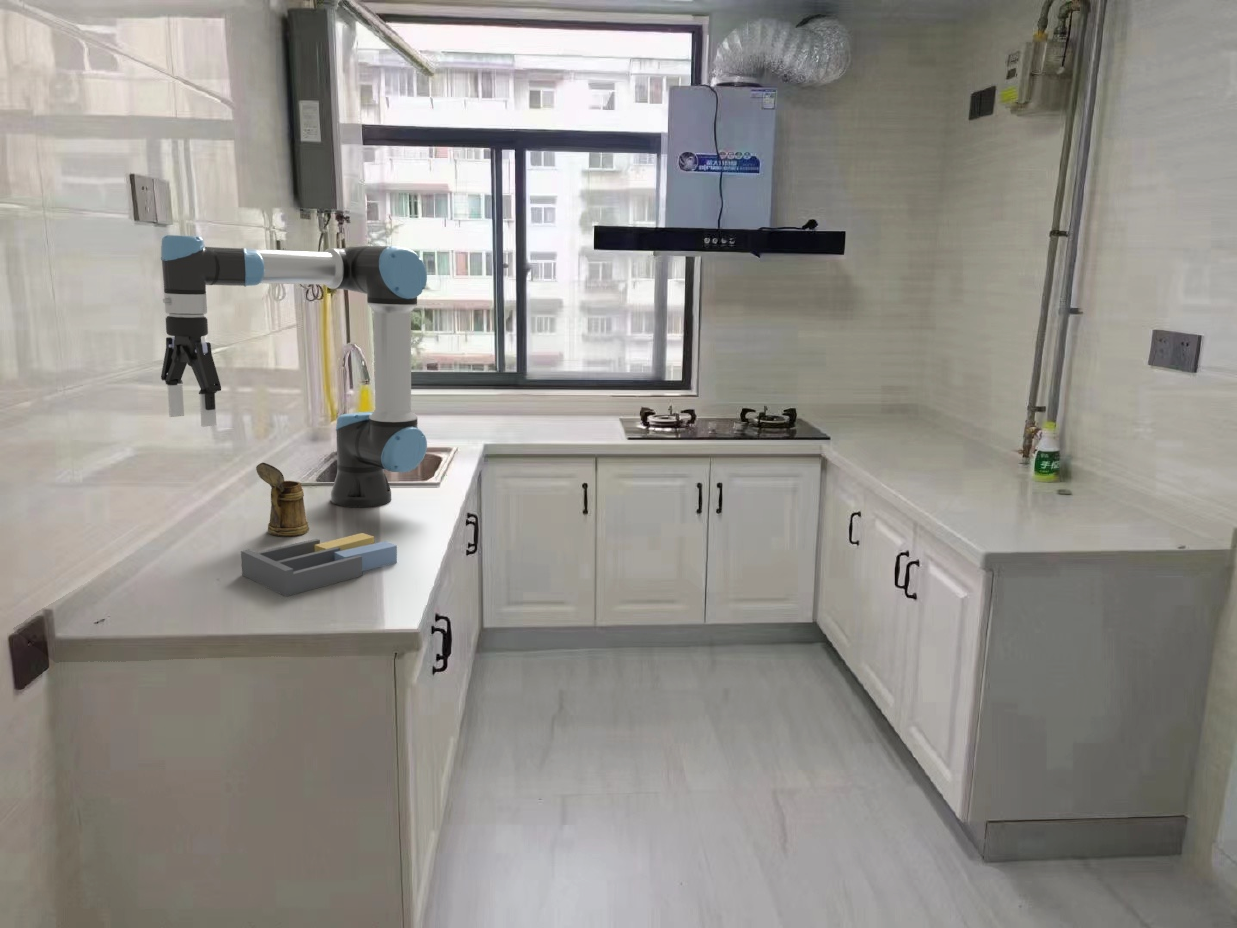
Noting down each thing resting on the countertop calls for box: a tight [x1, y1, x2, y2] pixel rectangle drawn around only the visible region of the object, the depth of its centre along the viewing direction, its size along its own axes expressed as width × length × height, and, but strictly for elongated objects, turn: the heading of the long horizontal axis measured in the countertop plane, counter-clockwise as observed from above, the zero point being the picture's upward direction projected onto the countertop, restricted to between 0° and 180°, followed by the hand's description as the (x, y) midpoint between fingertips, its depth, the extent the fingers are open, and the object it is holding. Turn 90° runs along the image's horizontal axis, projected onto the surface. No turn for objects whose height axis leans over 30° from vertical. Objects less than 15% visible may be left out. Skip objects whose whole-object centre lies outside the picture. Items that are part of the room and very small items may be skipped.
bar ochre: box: [315, 532, 375, 552], centre depth 190 cm, size 12×4×4 cm, turn 143°
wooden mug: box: [255, 462, 310, 538], centre depth 202 cm, size 9×14×18 cm, turn 168°
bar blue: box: [334, 540, 398, 572], centre depth 185 cm, size 12×4×4 cm, turn 137°
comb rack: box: [240, 538, 363, 597], centre depth 178 cm, size 17×16×5 cm
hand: (192, 421), depth 183 cm, fingers open, 13 cm apart
